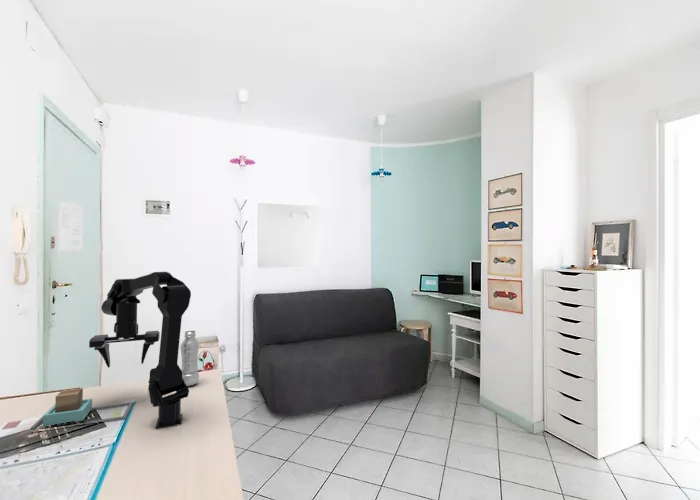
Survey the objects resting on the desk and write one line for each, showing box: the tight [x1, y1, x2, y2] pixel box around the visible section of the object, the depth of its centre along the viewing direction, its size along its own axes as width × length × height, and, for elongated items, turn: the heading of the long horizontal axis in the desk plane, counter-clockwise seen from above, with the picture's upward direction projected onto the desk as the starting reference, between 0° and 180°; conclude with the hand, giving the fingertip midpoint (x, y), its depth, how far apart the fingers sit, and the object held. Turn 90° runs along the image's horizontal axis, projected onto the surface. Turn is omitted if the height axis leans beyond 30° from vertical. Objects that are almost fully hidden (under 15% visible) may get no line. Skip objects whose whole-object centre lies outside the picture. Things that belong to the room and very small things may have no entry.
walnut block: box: [54, 387, 84, 413], centre depth 101 cm, size 5×5×5 cm
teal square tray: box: [42, 398, 93, 427], centre depth 101 cm, size 9×9×4 cm
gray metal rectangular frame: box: [30, 401, 134, 431], centre depth 102 cm, size 12×22×2 cm, turn 113°
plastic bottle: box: [179, 330, 200, 387], centre depth 129 cm, size 6×7×20 cm
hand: (125, 365), depth 111 cm, fingers open, 9 cm apart
